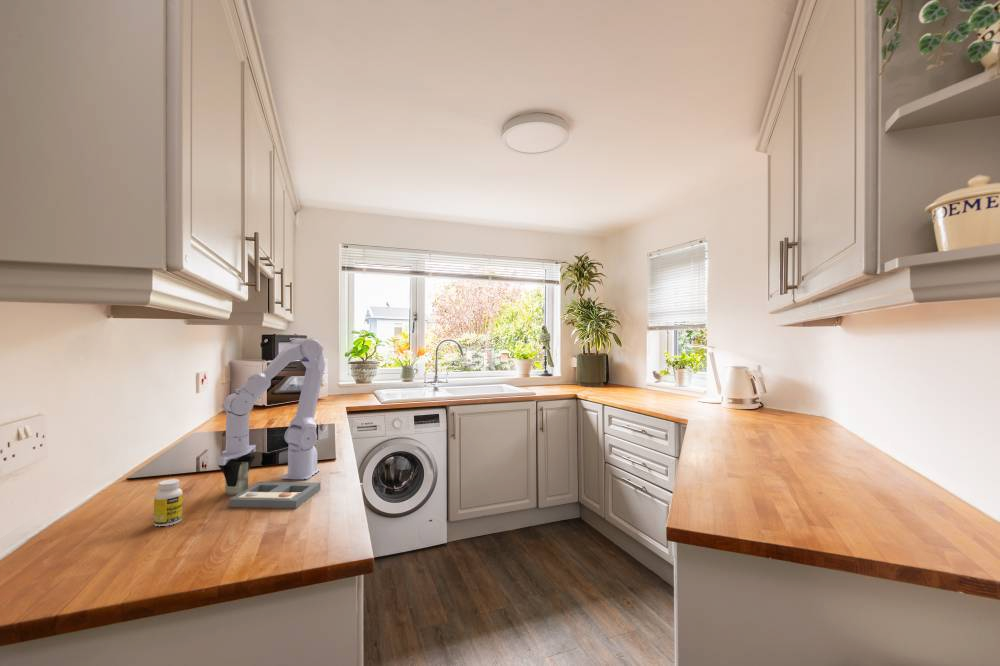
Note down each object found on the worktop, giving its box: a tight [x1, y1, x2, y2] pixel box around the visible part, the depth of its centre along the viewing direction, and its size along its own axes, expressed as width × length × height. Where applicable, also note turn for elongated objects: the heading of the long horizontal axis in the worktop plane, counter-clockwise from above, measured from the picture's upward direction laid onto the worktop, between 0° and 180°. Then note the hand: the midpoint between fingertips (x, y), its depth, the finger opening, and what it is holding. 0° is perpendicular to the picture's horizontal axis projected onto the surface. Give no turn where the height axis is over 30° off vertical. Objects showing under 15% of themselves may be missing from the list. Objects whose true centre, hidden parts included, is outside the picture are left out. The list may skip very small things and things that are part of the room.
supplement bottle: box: [153, 478, 184, 528], centre depth 104 cm, size 5×5×10 cm
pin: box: [224, 462, 249, 495], centre depth 125 cm, size 4×4×8 cm
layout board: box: [228, 481, 322, 509], centre depth 121 cm, size 14×18×2 cm
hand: (236, 483), depth 125 cm, fingers closed on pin, 4 cm apart
